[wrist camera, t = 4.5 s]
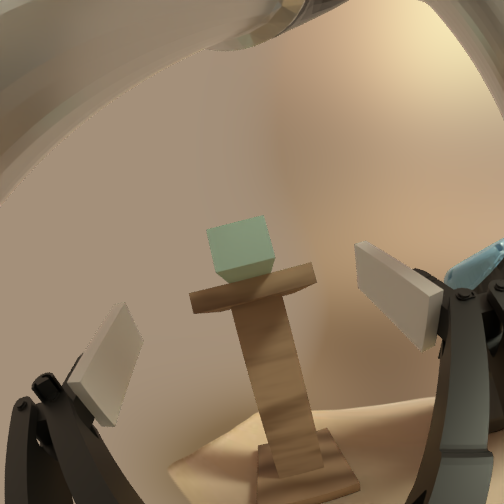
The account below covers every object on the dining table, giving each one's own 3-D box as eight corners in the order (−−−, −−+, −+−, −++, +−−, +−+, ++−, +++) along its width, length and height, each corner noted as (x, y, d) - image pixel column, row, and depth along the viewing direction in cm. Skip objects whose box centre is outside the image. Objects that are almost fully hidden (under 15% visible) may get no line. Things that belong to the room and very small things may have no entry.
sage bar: (275, 257, 18) (263, 215, 19) (215, 272, 18) (206, 229, 19) (267, 283, 37) (261, 261, 37) (238, 290, 37) (232, 269, 37)
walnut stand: (360, 490, 20) (311, 262, 26) (259, 515, 20) (188, 293, 26) (328, 434, 38) (290, 280, 44) (260, 452, 38) (217, 299, 43)
